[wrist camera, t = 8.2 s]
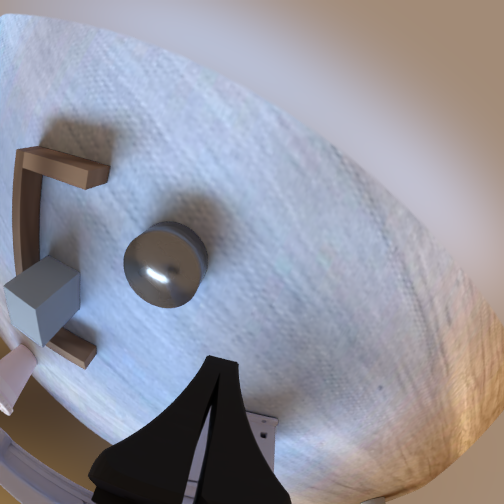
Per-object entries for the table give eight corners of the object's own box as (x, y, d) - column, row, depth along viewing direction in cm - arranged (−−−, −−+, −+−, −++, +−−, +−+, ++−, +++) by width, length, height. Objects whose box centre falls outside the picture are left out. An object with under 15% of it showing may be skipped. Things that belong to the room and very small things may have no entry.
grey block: (80, 272, 19) (35, 309, 14) (79, 308, 21) (42, 347, 15) (48, 255, 19) (3, 285, 13) (49, 290, 20) (11, 324, 15)
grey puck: (217, 236, 17) (208, 250, 15) (198, 298, 19) (188, 318, 17) (147, 210, 17) (129, 221, 15) (135, 274, 19) (120, 290, 16)
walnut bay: (110, 166, 16) (88, 170, 13) (96, 353, 23) (85, 369, 20) (38, 146, 15) (16, 149, 13) (39, 319, 22) (26, 332, 20)
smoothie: (14, 350, 26) (-34, 407, 13) (12, 328, 24) (-45, 390, 11) (43, 378, 27) (-1, 441, 14) (45, 359, 25) (-10, 431, 12)
